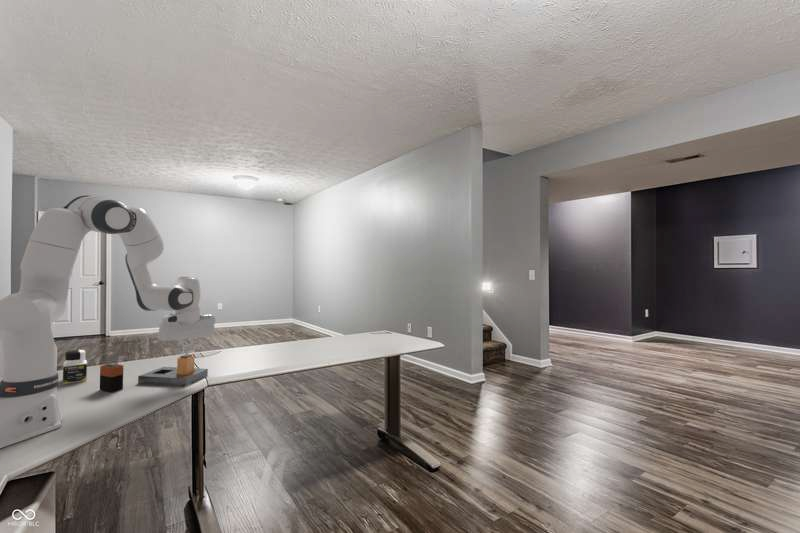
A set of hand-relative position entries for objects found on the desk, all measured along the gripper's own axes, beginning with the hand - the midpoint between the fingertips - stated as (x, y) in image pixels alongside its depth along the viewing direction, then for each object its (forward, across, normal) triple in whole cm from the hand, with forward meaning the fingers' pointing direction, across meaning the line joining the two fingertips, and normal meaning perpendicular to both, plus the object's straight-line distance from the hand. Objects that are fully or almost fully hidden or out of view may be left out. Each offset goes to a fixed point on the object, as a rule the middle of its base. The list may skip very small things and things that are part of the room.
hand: (187, 349), depth 153 cm
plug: (+12, 0, 0) cm, 12 cm away
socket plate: (+12, +4, -4) cm, 14 cm away
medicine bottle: (+12, +35, -24) cm, 45 cm away
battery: (+12, +24, -3) cm, 28 cm away
